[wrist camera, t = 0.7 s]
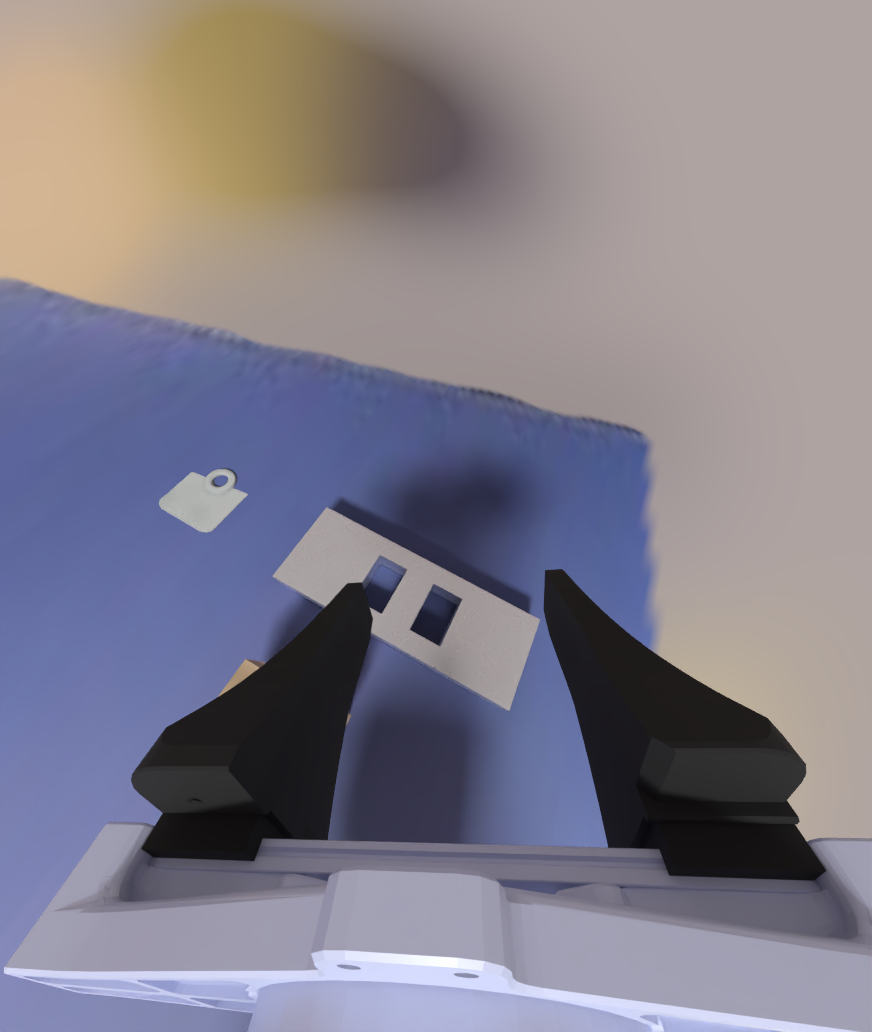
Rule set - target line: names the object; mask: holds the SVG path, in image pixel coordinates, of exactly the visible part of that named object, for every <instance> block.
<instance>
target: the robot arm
mask: <svg viewBox="0 0 872 1032" xmlns="http://www.w3.org/2000/svg"><path fill="white" fill-rule="evenodd" d="M544 613H545V618H546V622H547V626H548V630H549V635H550V638H551V640H552V643H553V646H554V649H555V652H556V654H557V657H558V660H559V663H560V665H561V668H562V671H563V673H564V676H565V679H566V682H567V684H568V687H569V690H570V693H571V696H572V699H573V702H574V705H575V709H576V713H577V717H578V721H579V724H580V728H581V732H582V736H583V740H584V744H585V748H586V752H587V756H588V760H589V764H590V768H591V772H592V777H593V781H594V785H595V789H596V794H597V798H598V802H599V807H600V811H601V816H602V820H603V825H604V829H605V834H606V838H607V843H608V848H598V847H560V846H523V845H485V844H448V843H410V842H373V841H336V840H328V832H329V825H330V817H331V810H332V803H333V796H334V790H335V783H336V777H337V771H338V765H339V759H340V754H341V748H342V743H343V737H344V732H345V728H346V723H347V718H348V713H349V708H350V705H351V701H352V697H353V694H354V691H355V687H356V684H357V681H358V678H359V674H360V671H361V668H362V665H363V661H364V658H365V655H366V651H367V648H368V644H369V640H370V635H371V629H372V622H373V617H372V614H371V610H370V607H369V604H368V601H367V597H366V594H365V591H364V588H363V584H362V582H357V583H347V584H346V585H345V586H344V587H343V588H342V589H341V590H340V591H339V593H338V594H337V595H336V596H335V597H334V598H333V599H332V600H331V601H330V603H329V604H328V605H327V606H326V607H325V608H324V609H323V610H322V611H321V612H320V613H319V614H318V615H317V616H316V618H315V619H314V620H313V621H312V622H311V623H310V624H309V625H308V626H307V627H306V628H305V629H304V630H302V631H301V632H300V633H299V634H298V635H297V636H296V637H295V638H294V639H293V640H292V641H291V642H290V643H289V644H288V645H287V646H286V647H284V648H283V649H282V650H281V651H280V652H279V653H277V654H276V655H275V656H274V657H273V658H271V659H270V660H269V661H268V662H267V663H265V664H264V665H263V666H261V667H260V668H259V669H257V670H256V671H255V672H253V673H252V674H251V675H249V676H248V677H247V678H245V679H244V680H243V681H241V682H240V683H238V684H237V685H235V686H234V687H232V688H231V689H229V690H228V691H227V692H225V693H223V694H222V695H220V696H219V697H217V698H216V699H214V700H213V701H211V702H209V703H208V704H206V705H205V706H203V707H201V708H200V709H198V710H196V711H194V712H193V713H191V714H189V715H187V716H186V717H184V718H182V719H180V720H179V721H177V722H175V723H173V724H172V725H170V726H168V727H166V729H165V730H164V731H163V733H162V734H161V735H160V737H159V738H158V739H157V741H156V742H155V744H154V745H153V746H152V748H151V749H150V750H149V752H148V753H147V755H146V756H145V757H144V759H143V760H142V761H141V763H140V764H139V765H138V767H137V768H136V770H135V771H134V772H133V774H132V778H131V781H132V784H133V787H134V789H135V790H136V791H137V792H138V793H139V794H140V795H142V796H143V797H144V798H145V799H147V800H148V801H149V802H150V803H151V804H153V805H154V806H155V807H156V808H158V809H159V810H160V811H161V812H162V813H163V814H162V815H161V817H160V819H159V820H158V822H157V824H156V825H155V826H153V825H150V824H147V823H132V822H110V823H108V824H106V825H105V826H104V828H103V829H102V831H101V832H100V833H99V835H98V836H97V838H96V839H95V841H94V842H93V843H92V845H91V846H90V848H89V849H88V850H87V852H86V853H85V855H84V856H83V857H82V859H81V860H80V862H79V863H78V864H77V866H76V867H75V869H74V870H73V871H72V873H71V874H70V876H69V877H68V879H67V880H66V881H65V883H64V884H63V886H62V887H61V888H60V890H59V891H58V893H57V894H56V895H55V897H54V898H53V900H52V901H51V902H50V904H49V905H48V907H47V908H46V910H45V911H44V912H43V914H42V915H41V917H40V918H39V919H38V921H37V922H36V924H35V925H34V926H33V928H32V929H31V931H30V932H29V933H28V935H27V936H26V938H25V939H24V940H23V942H22V943H21V945H20V946H19V948H18V949H17V950H16V952H15V953H14V955H13V956H12V957H11V959H10V960H9V962H8V963H7V964H6V966H5V967H4V974H8V975H12V976H16V977H20V978H23V979H27V980H31V981H35V982H39V983H43V984H46V985H50V986H54V987H58V988H62V989H66V990H70V991H73V992H77V993H86V994H97V995H107V996H117V997H126V998H135V999H145V1000H153V1001H161V1002H169V1003H178V1004H186V1005H193V1006H201V1007H209V1008H217V1009H225V1010H233V1011H241V1012H249V1013H253V1015H252V1018H251V1021H250V1025H249V1028H248V1031H247V1032H872V839H862V838H818V839H814V840H810V841H808V842H807V841H805V839H804V837H803V836H802V834H801V833H800V831H799V830H798V828H797V827H796V825H795V824H798V823H799V818H798V816H797V814H796V813H795V812H794V810H793V809H792V807H791V806H790V804H789V803H788V802H787V799H788V798H789V797H790V796H791V794H792V793H793V792H794V791H795V790H796V788H797V787H798V786H799V785H800V784H801V783H802V781H803V779H804V777H805V775H806V764H805V763H804V761H803V760H802V759H801V758H800V756H799V755H798V754H797V753H796V751H795V750H794V749H793V748H792V746H791V745H790V744H789V742H788V741H787V740H786V739H785V737H784V736H783V735H782V734H781V733H780V732H779V731H778V729H777V728H776V727H775V726H774V725H773V724H772V723H771V722H770V720H769V719H768V718H766V717H764V716H762V715H760V714H758V713H756V712H755V711H752V710H751V709H749V708H747V707H745V706H743V705H741V704H739V703H737V702H735V701H733V700H731V699H729V698H727V697H725V696H723V695H722V694H720V693H718V692H716V691H715V690H713V689H711V688H709V687H708V686H706V685H704V684H702V683H701V682H699V681H697V680H696V679H694V678H692V677H691V676H689V675H687V674H686V673H684V672H682V671H681V670H679V669H678V668H676V667H675V666H673V665H672V664H670V663H669V662H667V661H666V660H664V659H663V658H661V657H660V656H658V655H657V654H655V653H654V652H652V651H651V650H650V649H648V648H647V647H645V646H644V645H643V644H642V643H640V642H639V641H638V640H636V639H635V638H634V637H632V636H631V635H630V634H629V633H627V632H626V631H625V630H624V629H623V628H621V627H620V626H619V625H618V624H617V623H616V622H615V621H613V620H612V619H611V618H610V617H609V616H608V615H607V614H606V613H604V612H603V611H602V610H601V609H600V608H599V607H598V606H597V605H596V604H595V603H594V602H593V601H592V600H591V599H590V598H589V597H588V596H587V595H586V594H585V593H584V592H583V591H582V590H581V589H580V588H579V587H578V586H577V585H576V583H575V582H574V581H573V580H572V579H571V578H570V577H569V576H568V575H567V574H566V572H565V571H563V570H562V569H558V570H545V590H544ZM553 894H554V895H553Z"/></svg>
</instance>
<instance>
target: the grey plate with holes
mask: <svg viewBox="0 0 872 1032" xmlns="http://www.w3.org/2000/svg"><path fill="white" fill-rule="evenodd" d="M380 565H383V566H385V567H387V568H389V569H390V570H392V571H394V572H396V573H398V574H400V575H402V576H403V578H402V580H401V582H400V583H399V585H398V587H397V589H396V590H395V592H394V594H393V596H392V597H391V599H390V601H389V602H388V604H387V606H386V608H385V609H384V611H383V613H382V614H381V613H379V612H377V611H375V610H373V609H372V608H370V610H371V614H372V617H373V622H372V629H371V636H373V637H375V638H376V639H378V640H380V641H382V642H383V643H385V644H387V645H389V646H390V647H392V648H394V649H396V650H397V651H399V652H401V653H403V654H404V655H406V656H408V657H410V658H411V659H413V660H415V661H417V662H418V663H420V664H422V665H424V666H425V667H427V668H429V669H431V670H432V671H434V672H436V673H438V674H439V675H441V676H443V677H445V678H447V679H448V680H450V681H452V682H454V683H455V684H457V685H459V686H461V687H462V688H464V689H466V690H468V691H469V692H471V693H473V694H475V695H476V696H478V697H480V698H482V699H483V700H485V701H487V702H489V703H490V704H492V705H494V706H496V707H497V708H499V709H503V710H507V711H509V710H510V707H511V704H512V701H513V698H514V695H515V692H516V689H517V686H518V683H519V680H520V677H521V674H522V671H523V668H524V665H525V663H526V660H527V657H528V654H529V651H530V648H531V645H532V642H533V639H534V636H535V633H536V630H537V627H538V624H539V621H540V619H538V618H536V617H534V616H532V615H530V614H528V613H526V612H525V611H523V610H521V609H519V608H517V607H515V606H513V605H511V604H509V603H507V602H506V601H504V600H502V599H500V598H498V597H496V596H494V595H492V594H490V593H489V592H487V591H485V590H483V589H481V588H479V587H477V586H475V585H473V584H471V583H470V582H468V581H466V580H464V579H462V578H460V577H458V576H456V575H454V574H453V573H451V572H449V571H447V570H445V569H443V568H441V567H439V566H437V565H435V564H434V563H432V562H430V561H428V560H426V559H424V558H422V557H420V556H418V555H417V554H415V553H413V552H411V551H409V550H407V549H405V548H403V547H401V546H399V545H398V544H396V543H394V542H392V541H390V540H388V539H386V538H384V537H382V536H381V535H379V534H377V533H375V532H373V531H371V530H369V529H367V528H365V527H363V526H362V525H360V524H358V523H356V522H354V521H352V520H350V519H348V518H346V517H345V516H343V515H341V514H339V513H337V512H335V511H333V510H331V509H329V508H326V509H325V510H324V511H323V513H322V514H321V515H320V517H319V518H318V519H317V520H316V522H315V523H314V524H313V525H312V527H311V528H310V529H309V530H308V532H307V533H306V534H305V536H304V537H303V538H302V539H301V541H300V542H299V543H298V544H297V546H296V547H295V548H294V550H293V551H292V552H291V553H290V555H289V556H288V557H287V558H286V560H285V561H284V562H283V564H282V565H281V566H280V567H279V569H278V570H277V571H276V572H275V574H274V575H273V577H274V578H275V579H276V580H277V581H278V582H279V583H281V584H282V585H283V586H285V587H287V588H289V589H290V590H292V591H294V592H296V593H297V594H299V595H301V596H303V597H304V598H306V599H308V600H310V601H311V602H313V603H315V604H317V605H318V606H320V607H322V608H325V607H326V606H327V605H328V604H329V603H330V601H331V600H332V599H333V598H334V597H335V596H336V595H337V594H338V593H339V591H340V590H341V589H342V588H343V587H344V586H345V585H346V584H347V583H357V582H362V584H363V588H364V591H365V589H366V587H367V586H368V584H369V583H370V581H371V579H372V578H373V576H374V575H375V573H376V571H377V570H378V568H379V567H380ZM430 591H431V592H433V593H435V594H437V595H439V596H440V597H442V598H444V599H446V600H448V601H450V602H452V603H453V604H455V605H457V607H456V609H455V611H454V613H453V615H452V617H451V620H450V622H449V624H448V626H447V628H446V630H445V632H444V634H443V636H442V639H441V641H440V643H439V645H436V644H434V643H433V642H431V641H429V640H427V639H425V638H424V637H422V636H420V635H418V634H416V633H415V632H413V631H411V630H410V629H411V627H412V626H413V624H414V622H415V620H416V618H417V616H418V614H419V612H420V610H421V608H422V606H423V605H424V603H425V601H426V599H427V597H428V595H429V593H430Z"/></svg>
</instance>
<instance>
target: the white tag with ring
mask: <svg viewBox="0 0 872 1032" xmlns="http://www.w3.org/2000/svg"><path fill="white" fill-rule="evenodd" d="M221 475H225V476H227V477H228V482H227V483H226V484H225V485H224V486H221V487H219V486H216V485H215V483H214V482H215V481H214V479H215V478H216V477H218V476H221ZM236 482H237V477H236V474H235V473H233V472H232V471H231V470H227V469H218V470H215V471H213V472H211V473H210V474H208V476H207V477H204V476H201V475H199V474H196V473H194V472H191V473H190V474H189V475H188V476H187V477H186V478H185V479H183V480H182V481H181V482H180V483H179V484H178V485H177V486H175V487H174V488H173V489H172V490H171V491H170V492H168V493H167V494H166V495H165V496H164V497H163V498H162V499H160V501H159V505H160V507H161V508H162V509H163V510H164V511H166V512H168V513H170V514H171V515H173V516H175V517H176V518H178V519H180V520H181V521H183V522H185V523H187V524H188V525H190V526H192V527H193V528H195V529H197V530H198V531H201V532H211V531H213V530H214V529H215V528H216V527H217V526H218V525H219V524H220V523H221V522H222V521H223V520H224V519H225V518H226V516H227V515H228V514H229V513H230V512H231V511H232V510H233V509H234V508H235V507H236V506H237V505H238V504H239V503H240V502H241V501H242V500H243V499H244V498H245V497H246V496H247V495H248V494H246V493H244V492H241V491H239V490H236V489H234V486H235V485H236Z"/></svg>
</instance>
